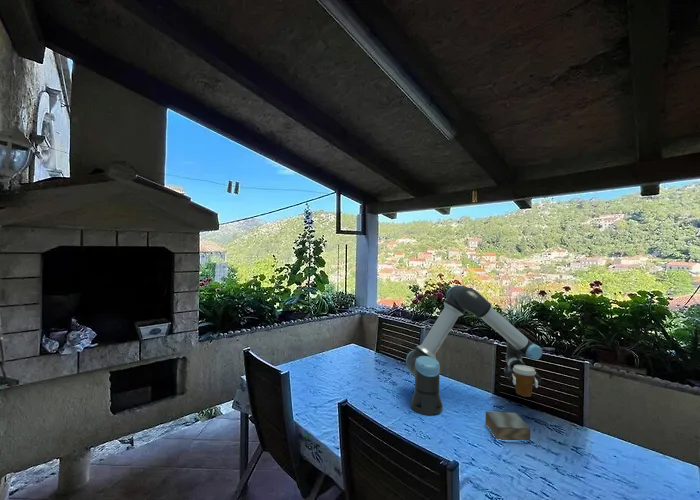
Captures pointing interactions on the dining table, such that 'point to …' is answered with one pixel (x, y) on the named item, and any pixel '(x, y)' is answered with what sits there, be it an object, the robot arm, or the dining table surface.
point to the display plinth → (507, 426)
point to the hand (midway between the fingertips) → (525, 383)
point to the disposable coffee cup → (524, 379)
